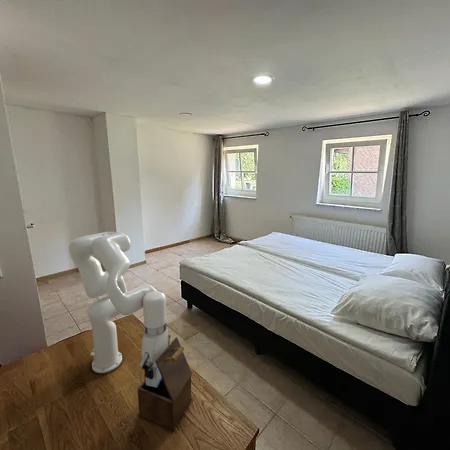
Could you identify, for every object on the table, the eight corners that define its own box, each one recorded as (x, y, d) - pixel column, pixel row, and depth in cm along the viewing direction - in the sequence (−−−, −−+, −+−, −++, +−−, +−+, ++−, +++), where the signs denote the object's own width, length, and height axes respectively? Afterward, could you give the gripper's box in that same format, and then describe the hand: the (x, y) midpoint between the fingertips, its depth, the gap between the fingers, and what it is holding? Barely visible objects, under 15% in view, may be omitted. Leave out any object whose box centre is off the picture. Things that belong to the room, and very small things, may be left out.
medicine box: (157, 388, 87) (156, 368, 85) (145, 385, 88) (144, 365, 86) (166, 370, 95) (166, 351, 93) (155, 368, 96) (155, 349, 94)
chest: (139, 415, 89) (137, 388, 87) (159, 387, 101) (158, 363, 98) (173, 430, 84) (172, 403, 82) (191, 399, 96) (191, 374, 93)
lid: (154, 361, 81) (166, 360, 79) (175, 337, 92) (186, 335, 90) (172, 402, 82) (183, 402, 80) (190, 373, 93) (201, 373, 91)
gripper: (161, 311, 95) (162, 349, 99) (129, 339, 80) (132, 383, 84) (177, 315, 93) (178, 354, 97) (148, 345, 77) (150, 390, 81)
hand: (156, 367), depth 90 cm, fingers closed on medicine box, 8 cm apart
